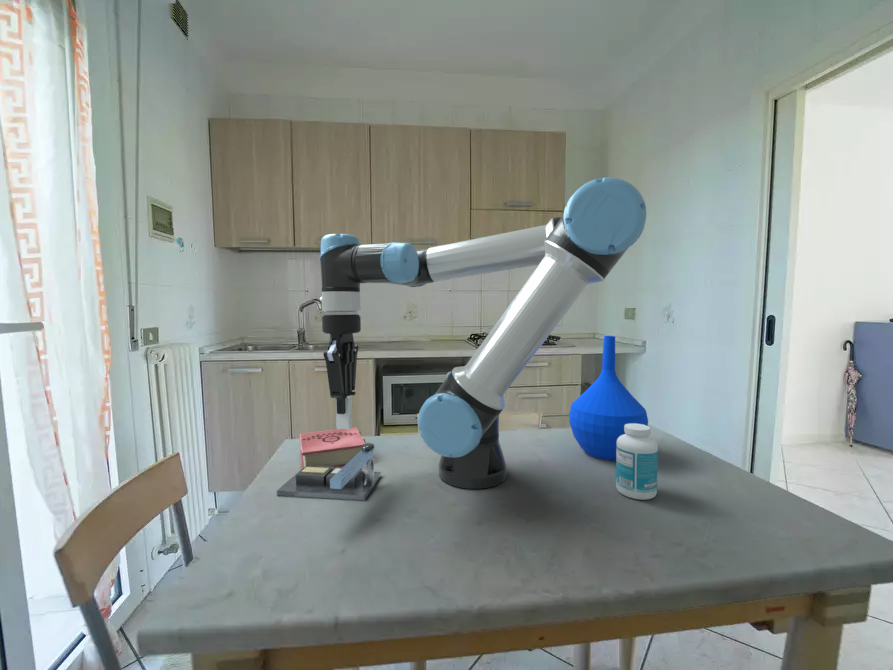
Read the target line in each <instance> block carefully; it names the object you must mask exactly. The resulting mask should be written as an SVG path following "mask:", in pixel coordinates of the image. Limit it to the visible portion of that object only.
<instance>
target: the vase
mask: <svg viewBox="0 0 893 670" xmlns="http://www.w3.org/2000/svg"><path fill="white" fill-rule="evenodd" d="M602 345H603V346H602V364H601V365H602V369H601V371H600V374H599V375H598V378H597V379H596V380H595V381H594V382H593V383H592V384H591V385H590V386H589V387H588V388H587V389H586V390H585V391H584V392H582V394H581V395H579V397H577V398H575V400H574V401H573V402H571V406H570V409H569V413H568V414H569V417H568V419H569V425H570V428H571V431H572V435H573V437H574V439H575V440H576V442H577V444H578V445H579V447H580V448H581V449H582V450H583V451H584V452H585V453H586V454H587V455H588V456H590V457H593V458H596V459H599V460H602V461H613V462H616V449H617V439H618V437H620V436H621V435H624V434H626V433H625V431H624V425H625V424H630V423H636V424H643V425H646V426H649V417H648V413H647V410H646V408H645V407H644V406H643V405H642V404H641V403H640V402H639V401H638V400H637V399H636V398H635V397H634V395H633V394H632V393H630V392H629V390H628V389H627V388H626V387H625V385H624V384H623V383H622V382H621V381H620V379H619V377H618V376H617V373H616V372H617V371H616V336H614V335H604V336H603V344H602Z"/></svg>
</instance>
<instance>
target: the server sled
mask: <svg viewBox="0 0 893 670" xmlns="http://www.w3.org/2000/svg"><path fill="white" fill-rule="evenodd" d="M343 467H344V466H343ZM343 467H335V468H334V467H333V466H312V465H307V466H306V467H305V468H303V469H302V468H301V469H300V470H299V471H298V472H297V473H295V474H294V475H293V476H292V477H291V478H290V479H288V480H287V481H286V482H285V483H283V485H282V486H280V487H279V488H278V489H277V490H276V496H281V497H298V498H299V497H300V498H312V499H313V498H314V499H331V500H350V501H366V499H368V496H369V495H370V493H371V492H372V490H373V488H374V487H375V486H376V485H377V482H378V481H379V480H380V478H381V477H382V473H381V472H382V471H375V456H374V455H373V456H372V457H371V458H370V459H369V460H368V461H367V462H366V463H365V464H364V466H363V467H362V468H361V469H360V470H359V471H358V472H357V473H356V474H355V475H354V476H353V477H352V478H351V479H350V480H349V481H348V483H347V484H346V485H345V486H344V487H343V488H342V489H333V488H330V479H331V478H332V477H333V476H334V475H335V474H336V473H337V472H339V471H340V470H341V469H342V468H343Z"/></svg>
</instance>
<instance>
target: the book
mask: <svg viewBox="0 0 893 670" xmlns="http://www.w3.org/2000/svg"><path fill="white" fill-rule="evenodd" d="M299 441H300V448H301V449H300V450H299V453H300V463H301V470H302V469H303V468H305V467H306V466H307V465H312V466H333V467H334V468H335V467H344V466H345V465H346V464H347V463H348V462H349V461H350V460H351V459H352V458H353V457H354V456H355V455H357V454H358V453H359V452H360V451H361V450H362V449H361V446H362V445H363V444H367V443H366V439H365V438H363V437H362V433H361V431H360V430H359V429H358V428H357V427H351V428H350V429H330V430H321V431H311V432H304V433H299Z"/></svg>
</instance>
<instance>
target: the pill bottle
mask: <svg viewBox="0 0 893 670" xmlns="http://www.w3.org/2000/svg"><path fill="white" fill-rule="evenodd" d="M624 431H625V433H626V434H624V435H621V436H620V437H618V439H617V449H616V461H615V463H616V464H615V467H616V468H615V487H616V490H617V491H618V493H620V494H621V495H622V496H625V497H628V498H630V499H633V500H644V501H645V500H650V499H654V498H655V497H656V495H657V493H658V465H659V464H658V463H659V461H658V458H659V457H658V456H659V454H658V453H659V452H658V451H659V446H658V443H657V441H656V440H655V439H654V438H652V437H650V435H651V433H652V432H651V427H650V426H649V425H648V426H646V425H643V424H636V423H630V424H625V425H624Z"/></svg>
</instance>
